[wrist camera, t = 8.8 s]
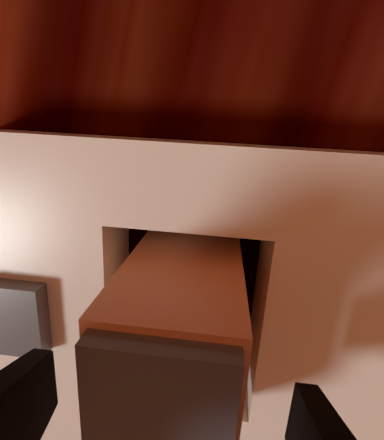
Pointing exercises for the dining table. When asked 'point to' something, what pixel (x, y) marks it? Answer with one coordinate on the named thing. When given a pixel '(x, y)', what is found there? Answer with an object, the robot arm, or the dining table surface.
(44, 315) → the socket plate
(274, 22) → the dining table surface
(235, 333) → the plug
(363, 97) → the dining table surface
